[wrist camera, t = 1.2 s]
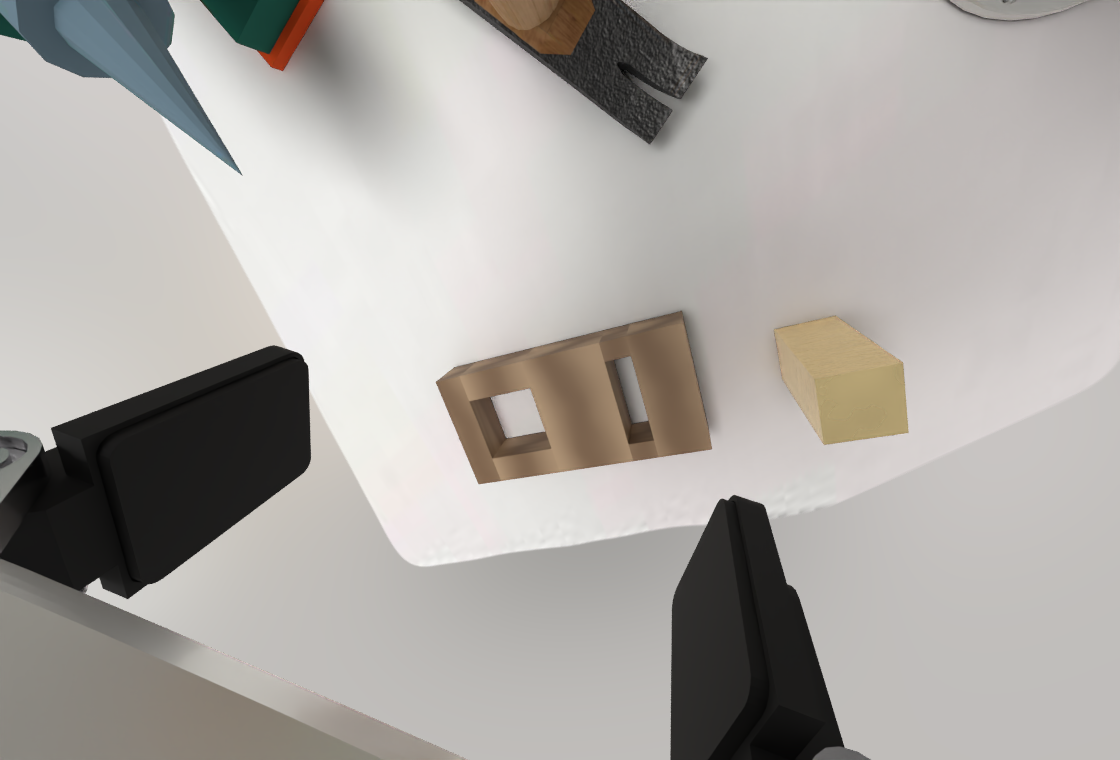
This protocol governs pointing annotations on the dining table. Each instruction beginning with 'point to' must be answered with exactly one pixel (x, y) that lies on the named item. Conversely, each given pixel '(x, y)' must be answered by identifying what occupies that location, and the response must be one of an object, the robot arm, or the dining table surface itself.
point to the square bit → (842, 381)
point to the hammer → (599, 53)
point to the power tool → (152, 46)
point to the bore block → (582, 402)
